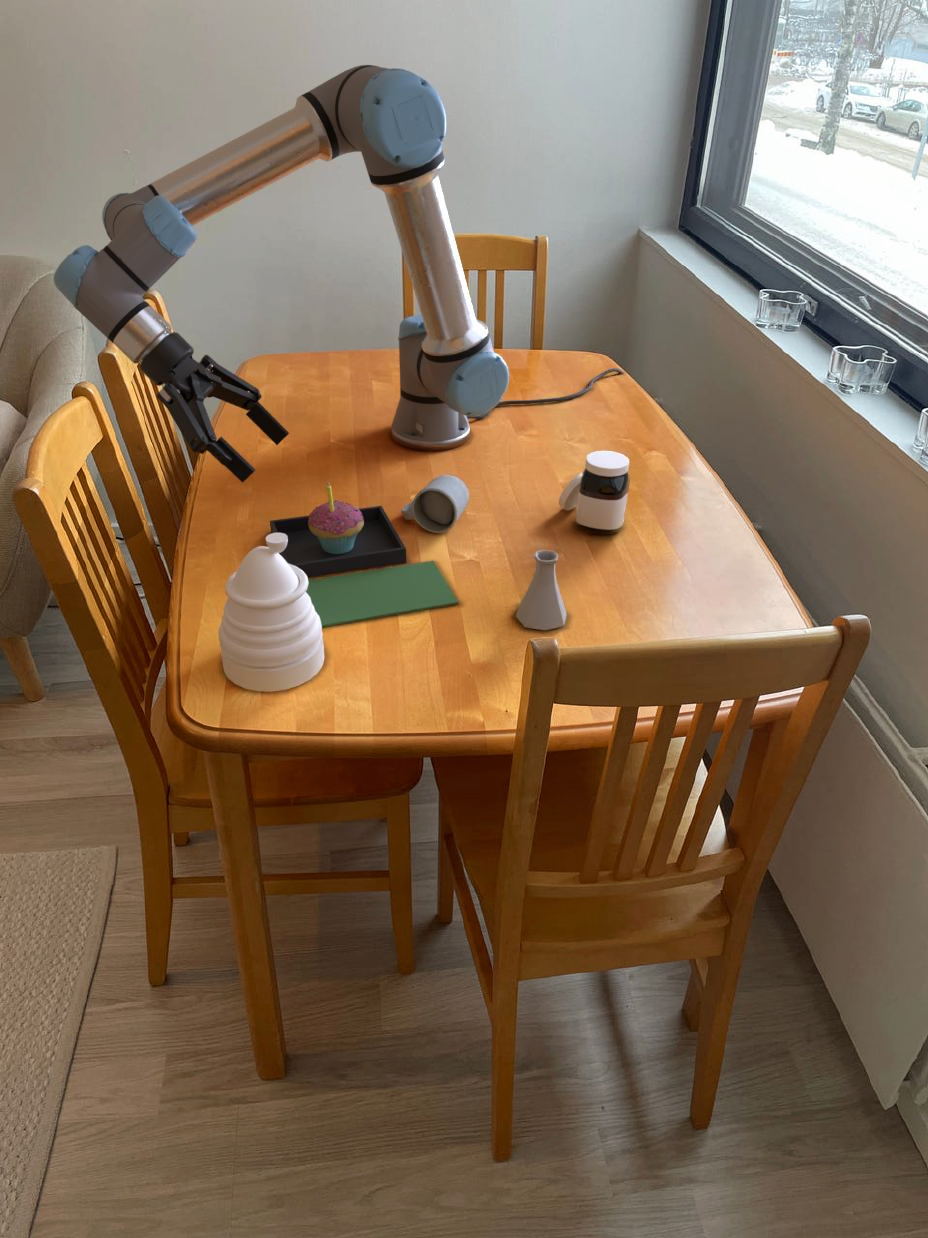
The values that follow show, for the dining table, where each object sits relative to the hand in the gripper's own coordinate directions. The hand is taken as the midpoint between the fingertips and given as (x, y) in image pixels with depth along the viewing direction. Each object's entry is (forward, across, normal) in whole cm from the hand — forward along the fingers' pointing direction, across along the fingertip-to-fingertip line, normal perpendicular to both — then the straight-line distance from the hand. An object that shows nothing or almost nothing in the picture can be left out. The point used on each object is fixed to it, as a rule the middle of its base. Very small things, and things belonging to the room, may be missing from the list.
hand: (267, 457), depth 135 cm
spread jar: (+44, -19, +24) cm, 53 cm away
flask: (+41, +12, +20) cm, 47 cm away
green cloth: (+24, +11, +4) cm, 27 cm away
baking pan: (+17, 0, -3) cm, 17 cm away
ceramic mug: (+26, -12, +6) cm, 29 cm away
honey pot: (+18, +29, -2) cm, 35 cm away
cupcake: (+17, 0, -3) cm, 17 cm away
